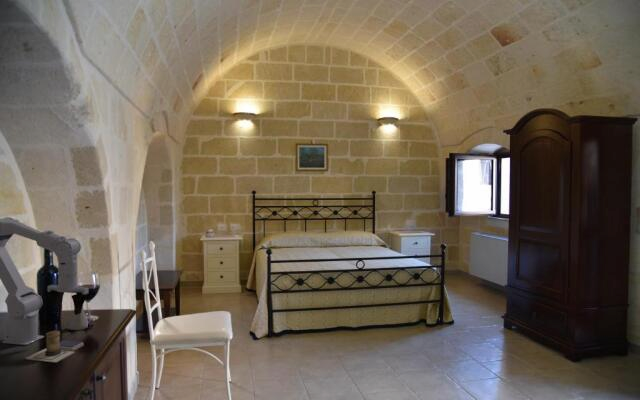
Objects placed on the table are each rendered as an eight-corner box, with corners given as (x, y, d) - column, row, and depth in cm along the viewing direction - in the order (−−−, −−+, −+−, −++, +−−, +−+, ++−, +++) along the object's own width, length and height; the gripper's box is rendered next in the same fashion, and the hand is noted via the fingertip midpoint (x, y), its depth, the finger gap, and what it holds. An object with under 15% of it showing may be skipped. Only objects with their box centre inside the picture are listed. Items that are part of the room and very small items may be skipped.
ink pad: (51, 348, 145) (51, 344, 145) (62, 343, 150) (62, 339, 150) (72, 351, 144) (72, 347, 144) (83, 345, 149) (83, 341, 149)
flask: (80, 331, 162) (80, 305, 161) (63, 329, 163) (63, 303, 163) (93, 325, 169) (93, 300, 169) (77, 323, 170) (77, 298, 170)
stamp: (41, 355, 139) (41, 335, 139) (52, 350, 143) (52, 330, 143) (54, 356, 138) (53, 336, 138) (64, 351, 143) (64, 331, 142)
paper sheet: (25, 359, 137) (25, 357, 137) (45, 349, 145) (45, 348, 145) (55, 362, 135) (55, 361, 135) (74, 352, 143) (74, 351, 143)
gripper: (40, 275, 147) (40, 315, 148) (78, 278, 145) (78, 318, 145) (56, 271, 154) (56, 309, 155) (92, 273, 152) (92, 312, 152)
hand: (68, 313), depth 151 cm, fingers open, 7 cm apart
